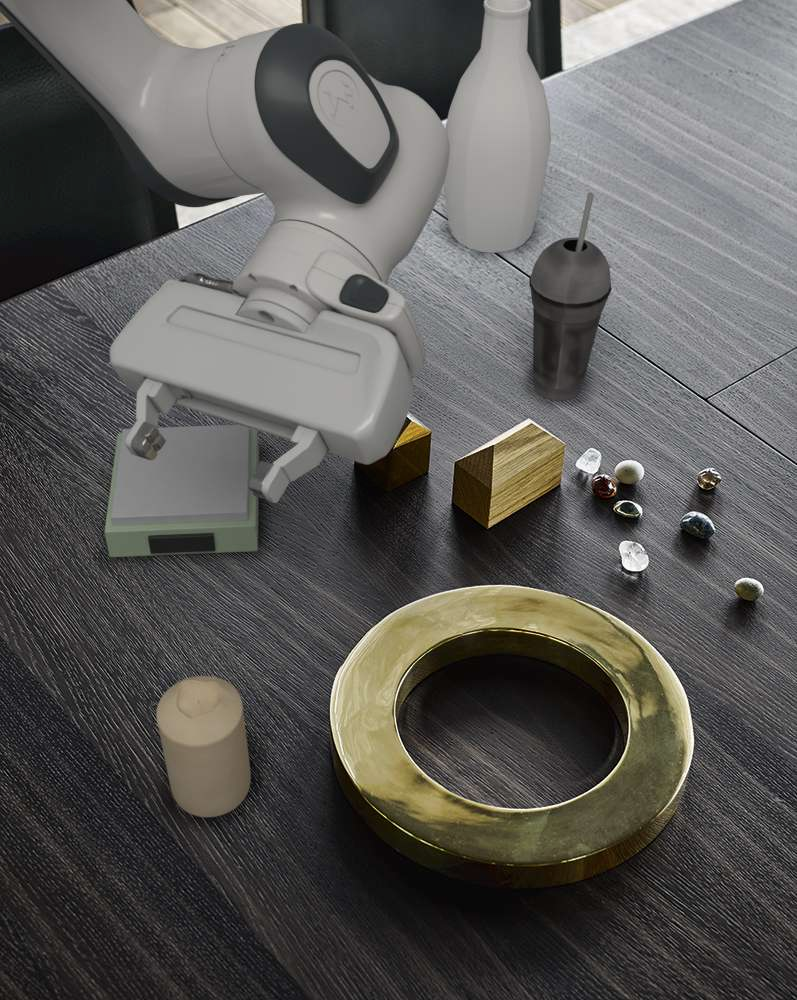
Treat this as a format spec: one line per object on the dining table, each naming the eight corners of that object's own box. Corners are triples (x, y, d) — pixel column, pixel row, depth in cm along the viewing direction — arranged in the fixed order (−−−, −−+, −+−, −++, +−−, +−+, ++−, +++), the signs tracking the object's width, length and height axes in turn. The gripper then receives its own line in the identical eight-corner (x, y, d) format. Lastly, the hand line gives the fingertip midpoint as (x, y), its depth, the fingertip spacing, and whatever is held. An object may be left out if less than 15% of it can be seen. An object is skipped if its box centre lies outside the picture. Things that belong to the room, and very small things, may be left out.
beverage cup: (502, 383, 119) (519, 195, 105) (555, 352, 122) (578, 167, 108) (558, 420, 115) (584, 231, 101) (611, 388, 118) (643, 200, 104)
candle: (155, 779, 87) (136, 690, 80) (222, 737, 89) (209, 647, 82) (200, 833, 84) (184, 746, 77) (267, 788, 86) (257, 700, 79)
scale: (109, 560, 102) (101, 526, 99) (122, 458, 110) (115, 424, 108) (257, 554, 102) (254, 520, 100) (259, 453, 111) (256, 419, 108)
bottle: (538, 206, 142) (561, -21, 124) (544, 261, 134) (570, 27, 116) (439, 204, 142) (448, -23, 124) (439, 259, 134) (449, 25, 116)
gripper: (158, 237, 83) (45, 402, 78) (428, 304, 75) (321, 494, 70) (193, 296, 89) (89, 455, 84) (449, 366, 80) (351, 546, 75)
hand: (197, 473), depth 77 cm, fingers open, 8 cm apart
